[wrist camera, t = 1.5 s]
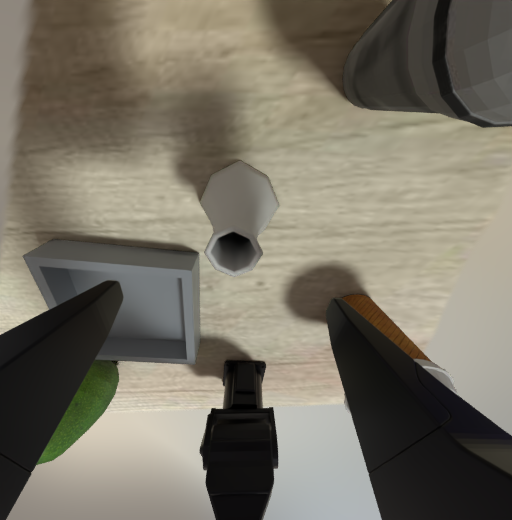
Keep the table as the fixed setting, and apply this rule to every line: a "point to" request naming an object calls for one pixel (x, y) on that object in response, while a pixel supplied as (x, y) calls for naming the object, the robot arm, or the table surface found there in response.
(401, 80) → the beverage cup
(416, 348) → the disposable coffee cup
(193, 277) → the serving bin
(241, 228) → the flask
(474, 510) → the robot arm
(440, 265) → the table surface
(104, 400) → the avocado
